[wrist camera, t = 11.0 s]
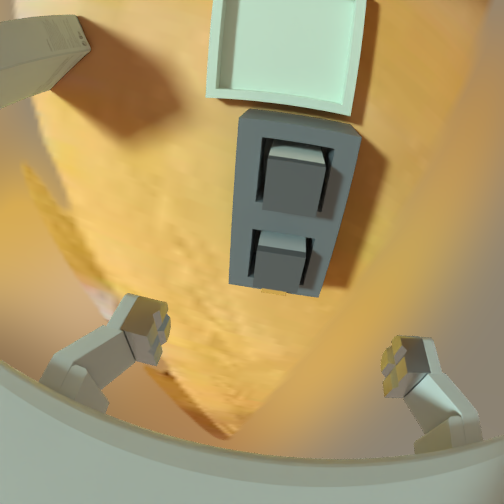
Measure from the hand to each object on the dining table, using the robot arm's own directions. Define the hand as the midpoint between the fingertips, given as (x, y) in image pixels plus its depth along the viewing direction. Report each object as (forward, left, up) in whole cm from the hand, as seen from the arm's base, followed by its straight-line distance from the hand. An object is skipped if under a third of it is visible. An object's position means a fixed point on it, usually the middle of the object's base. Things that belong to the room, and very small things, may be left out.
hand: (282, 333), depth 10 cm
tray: (-11, -2, -20) cm, 23 cm away
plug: (0, 0, -19) cm, 19 cm away
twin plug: (+8, 0, -19) cm, 21 cm away
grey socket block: (+4, 0, -20) cm, 20 cm away
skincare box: (-11, -26, -20) cm, 35 cm away
